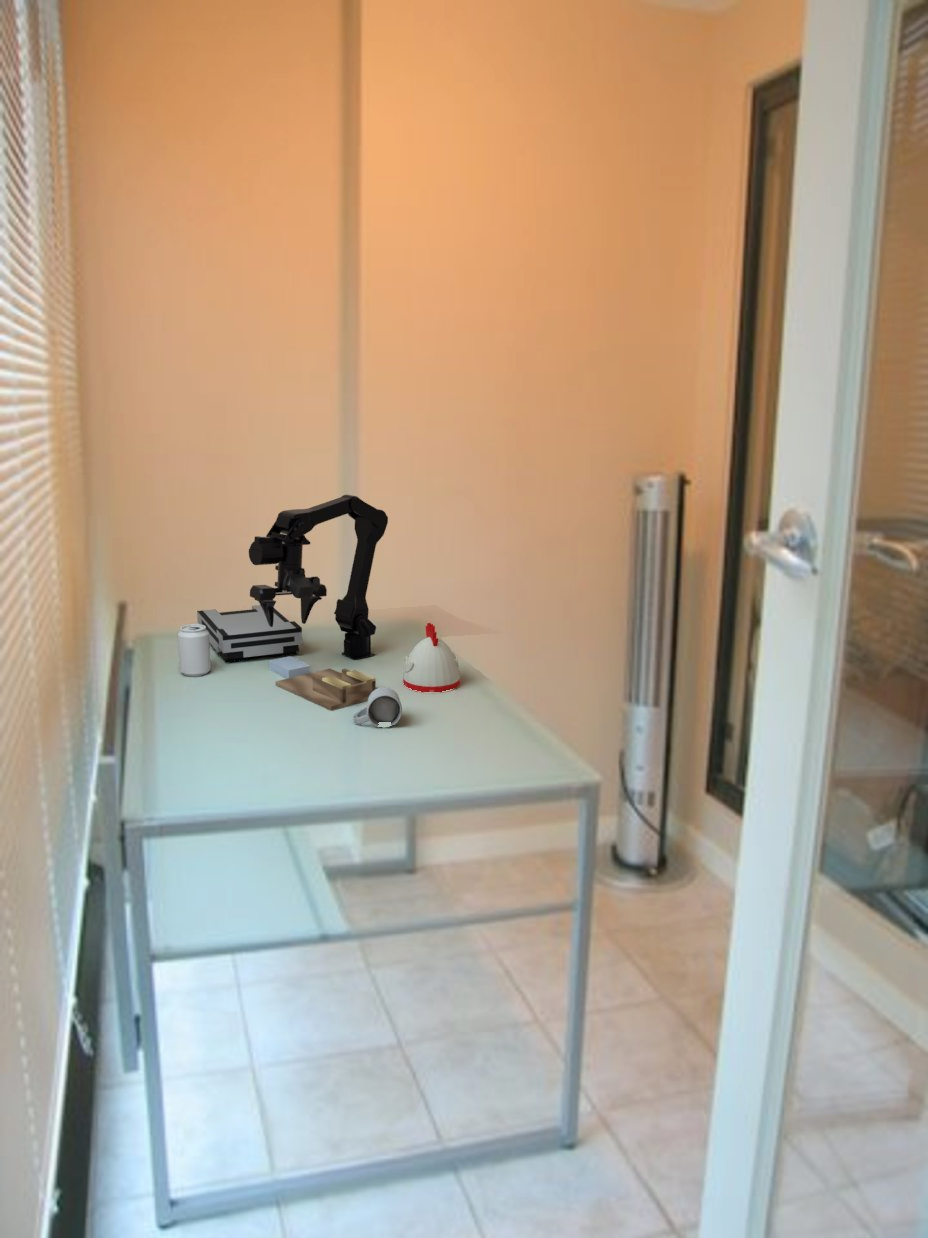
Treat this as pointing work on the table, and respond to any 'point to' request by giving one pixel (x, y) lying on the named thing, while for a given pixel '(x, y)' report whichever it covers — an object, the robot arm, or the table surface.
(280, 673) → the blue-grey rectangular block
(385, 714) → the ceramic mug
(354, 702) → the board
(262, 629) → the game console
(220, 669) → the table surface
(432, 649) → the kitchen timer
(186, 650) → the can
